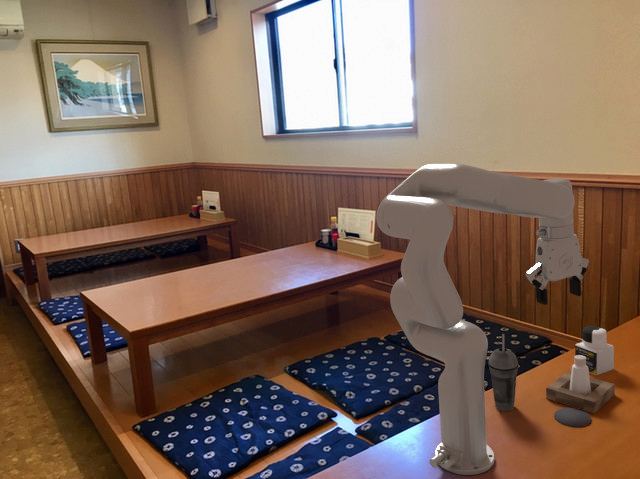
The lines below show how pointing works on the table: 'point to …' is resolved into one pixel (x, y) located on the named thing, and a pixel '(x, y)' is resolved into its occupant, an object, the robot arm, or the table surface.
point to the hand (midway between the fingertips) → (558, 298)
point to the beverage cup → (503, 377)
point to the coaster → (572, 417)
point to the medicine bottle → (596, 350)
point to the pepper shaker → (580, 376)
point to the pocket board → (590, 402)
